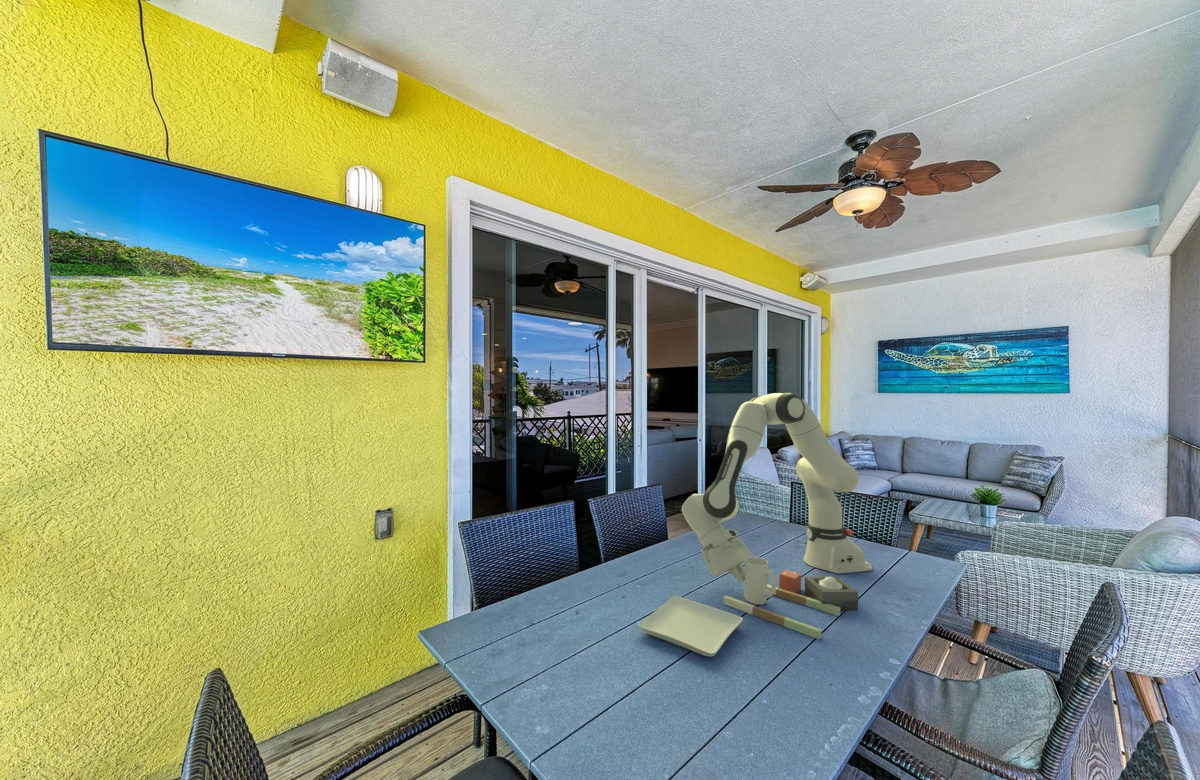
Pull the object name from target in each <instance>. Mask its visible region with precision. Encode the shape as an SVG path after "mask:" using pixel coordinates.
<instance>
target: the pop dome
mask: <svg viewBox="0 0 1200 780" xmlns="http://www.w3.org/2000/svg"><path fill="white" fill-rule="evenodd" d="M825 577H826V578H824V579H823V580H820V581H819V585H820V586H821V587H823V588H824V589H842V584H840V583H839V582H837V580H836V579H835V578H833V577H834V576H825Z"/></svg>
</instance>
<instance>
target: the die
mask: <svg viewBox="0 0 1200 780" xmlns="http://www.w3.org/2000/svg"><path fill="white" fill-rule="evenodd" d="M778 576H779V577H778V578H779V581H778V584H779V587H778V588H781V589H784V590H787V591H790V592H793V593H796V594H799V592H800V591H801V590H802V573H799V572H795V571H792V570H789V569H784V570H782V572H780V573H779V574H778Z"/></svg>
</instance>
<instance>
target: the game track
mask: <svg viewBox="0 0 1200 780" xmlns="http://www.w3.org/2000/svg"><path fill="white" fill-rule="evenodd" d="M771 588H772V584H771V585H770V584H768V583H767V591H770V590H771ZM773 596H777V597H779V598H782V599H786V600H788V601H792V602H794V603H797V604H801V605H804V606H807V607H810V608H812V609H816V610H819V611H822V612H825V613H828V614H830V615H834V616H837V617H840V615H841V611H840V607H838V606H835V605H831V604H822V603H821V602H820V601H819V600H816V599H812V598H809V597H807V596H806V595H803V594H800V593H793V592H790V591H787V590H784V589H781V588H779V587H777V586H776V589H775V591H774V594H773ZM723 605H725V606H729V607H731V608H734V609H737V610H738V611H742V612H744V613H747V614H749V615H752V616H755V617H758V618H761V619H763V620H766V621H768V622H772V623H774V624H777V625H780V626H782V627H785V628H788V629H790V630H793V631H796V632H798V633H801V634H802V635H803V634H804V635H807V636H808V637H809V636H810V637H812V638H815V639H817V640H820V639H821V637H822V629H821V628H818V627H815V626H812V625H809V624H807V623H805V622H801V621H798V620H796V619H793V618H790V617H788V616H784V615H782V614H779V613H776V612H773V611H770V610H767V609H765V608H762V607H760V606H756V605H755V604H752V603H749V602H747V601H746V602H745V601H743V600H739V599H737V598H734V597H731V596H728V595H725V596H724V597H723Z"/></svg>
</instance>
